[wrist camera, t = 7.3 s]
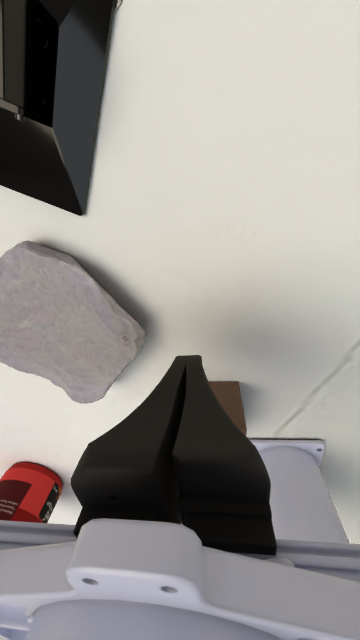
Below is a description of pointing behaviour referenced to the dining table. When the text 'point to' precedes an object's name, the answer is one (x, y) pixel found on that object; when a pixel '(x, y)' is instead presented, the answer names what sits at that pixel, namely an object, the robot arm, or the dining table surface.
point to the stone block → (62, 323)
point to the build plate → (52, 95)
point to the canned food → (28, 493)
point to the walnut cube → (230, 402)
